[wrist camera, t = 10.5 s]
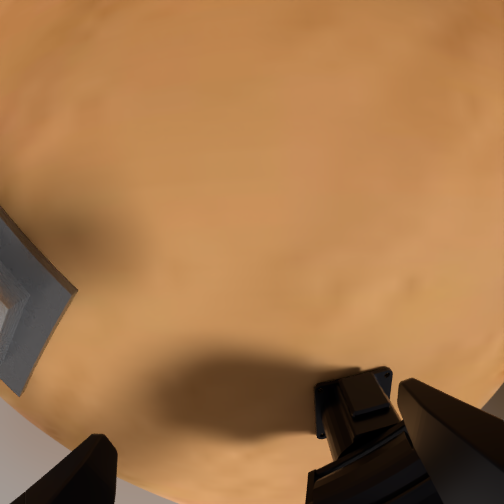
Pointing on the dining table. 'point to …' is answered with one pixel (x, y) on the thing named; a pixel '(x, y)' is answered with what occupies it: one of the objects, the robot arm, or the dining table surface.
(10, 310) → the duct collar
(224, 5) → the dining table surface
